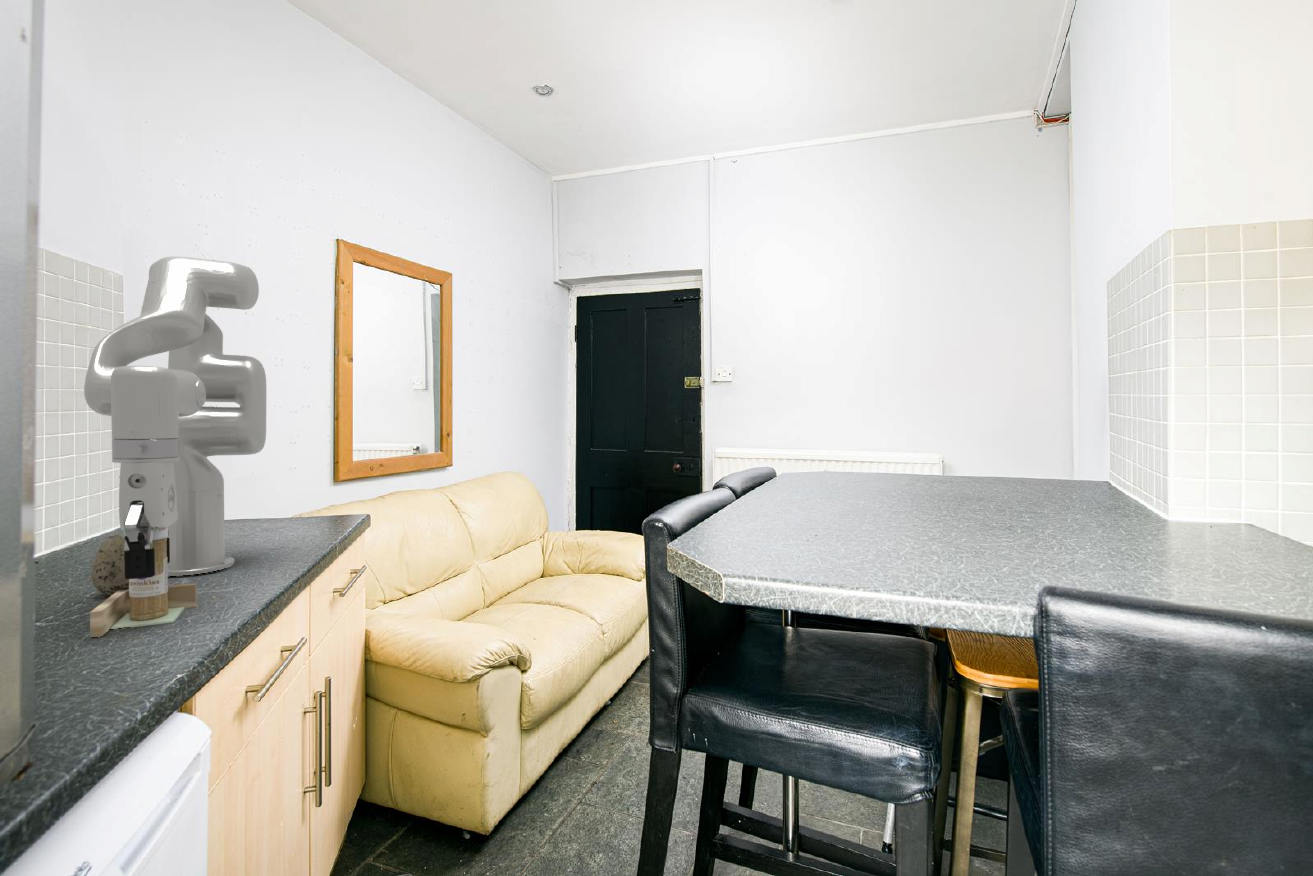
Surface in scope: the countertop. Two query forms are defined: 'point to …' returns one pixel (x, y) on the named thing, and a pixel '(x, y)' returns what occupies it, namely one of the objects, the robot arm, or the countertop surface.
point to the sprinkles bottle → (152, 584)
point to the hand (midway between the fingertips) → (148, 570)
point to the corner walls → (120, 605)
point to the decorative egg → (110, 566)
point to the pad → (167, 618)
